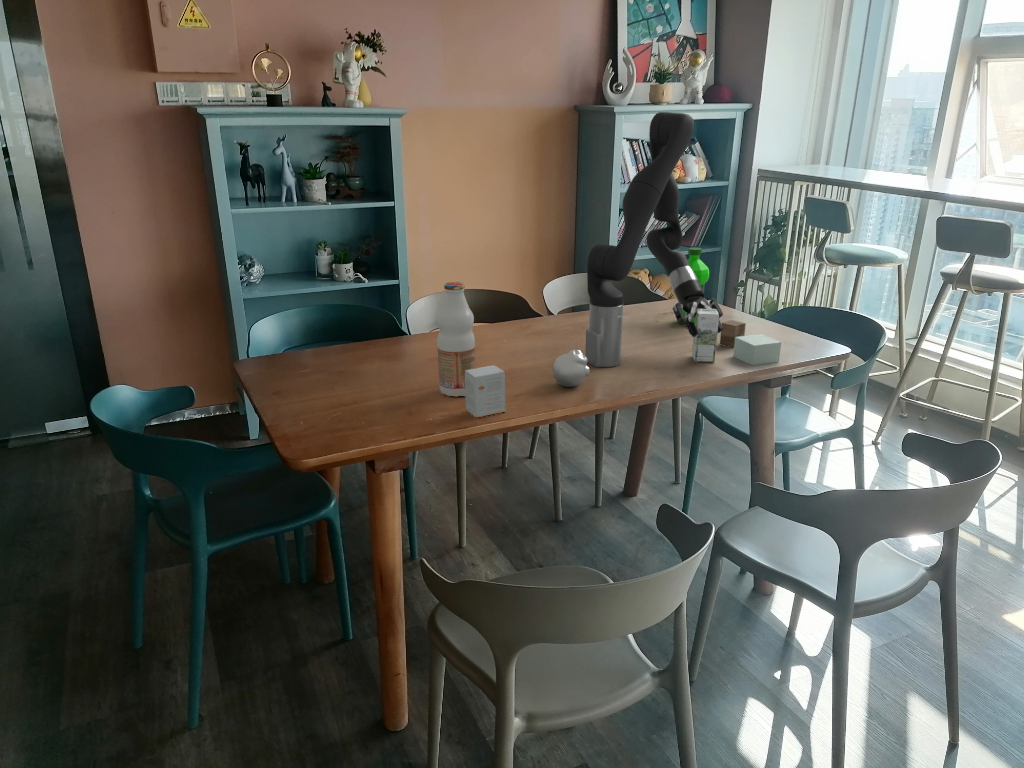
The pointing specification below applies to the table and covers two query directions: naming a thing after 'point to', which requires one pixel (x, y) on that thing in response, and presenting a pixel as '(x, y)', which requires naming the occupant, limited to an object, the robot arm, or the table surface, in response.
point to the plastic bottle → (698, 268)
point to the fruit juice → (455, 340)
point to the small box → (485, 390)
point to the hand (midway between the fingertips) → (707, 333)
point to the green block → (757, 349)
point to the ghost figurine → (571, 368)
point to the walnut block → (731, 332)
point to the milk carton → (705, 335)
